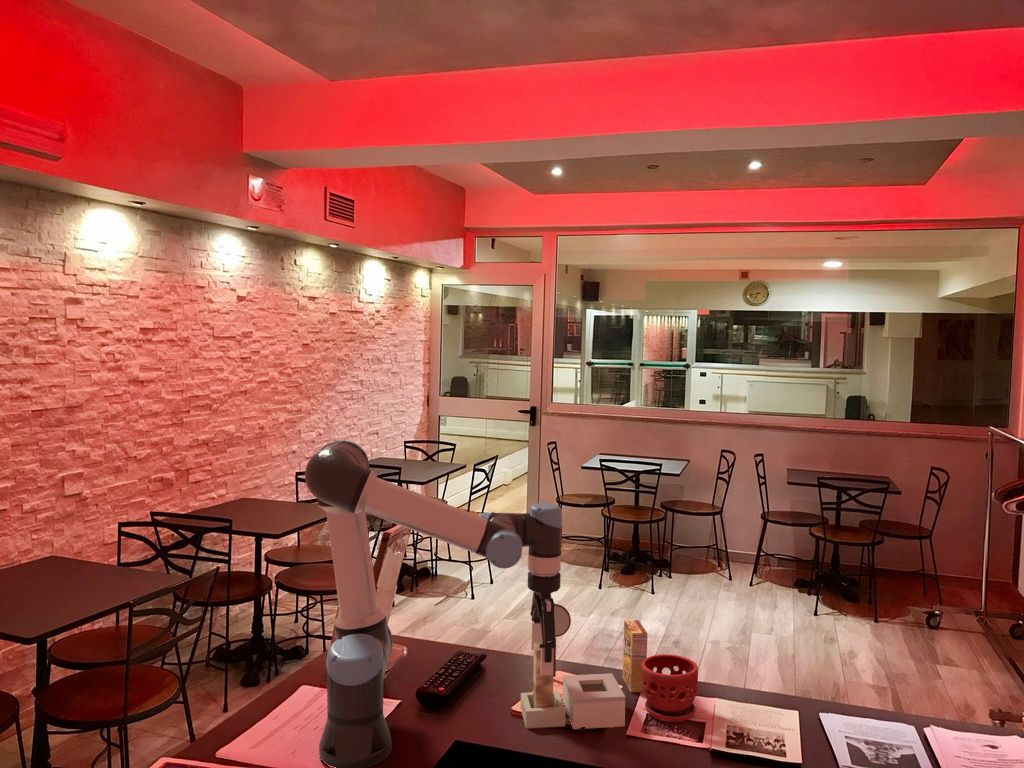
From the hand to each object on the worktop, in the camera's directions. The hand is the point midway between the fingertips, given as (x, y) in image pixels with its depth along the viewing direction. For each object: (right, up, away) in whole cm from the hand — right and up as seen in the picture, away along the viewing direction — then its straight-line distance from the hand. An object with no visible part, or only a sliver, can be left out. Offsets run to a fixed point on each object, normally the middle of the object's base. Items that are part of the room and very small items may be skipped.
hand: (541, 661), depth 181 cm
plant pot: (+30, -14, +4) cm, 33 cm away
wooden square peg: (0, -13, +1) cm, 13 cm away
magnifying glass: (+4, -12, +21) cm, 24 cm away
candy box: (+24, -13, +18) cm, 33 cm away
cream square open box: (0, -13, +1) cm, 13 cm away
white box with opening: (+12, -13, +2) cm, 18 cm away
